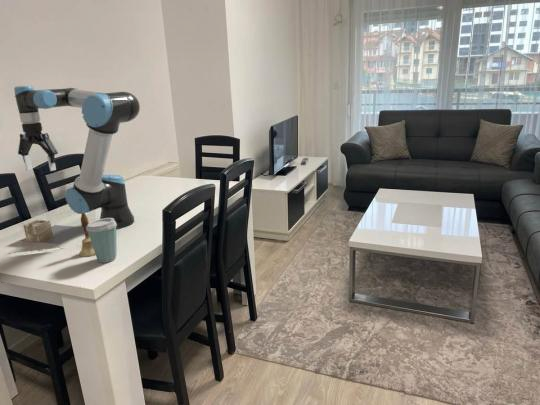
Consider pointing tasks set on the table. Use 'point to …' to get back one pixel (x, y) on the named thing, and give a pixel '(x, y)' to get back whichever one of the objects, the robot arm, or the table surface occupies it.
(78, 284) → the table surface
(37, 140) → the robot arm
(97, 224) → the disposable coffee cup
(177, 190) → the table surface
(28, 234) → the hollow wooden cube frame
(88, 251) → the hand bell
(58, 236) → the base board
